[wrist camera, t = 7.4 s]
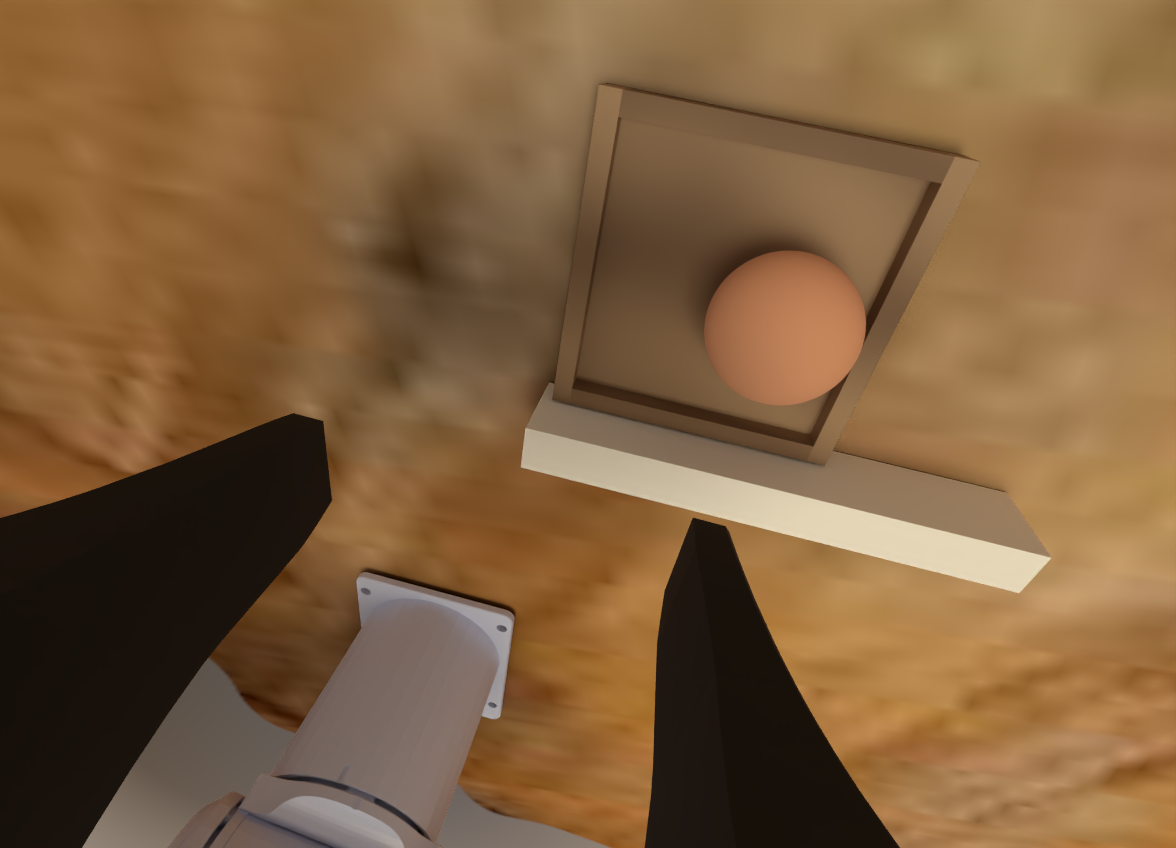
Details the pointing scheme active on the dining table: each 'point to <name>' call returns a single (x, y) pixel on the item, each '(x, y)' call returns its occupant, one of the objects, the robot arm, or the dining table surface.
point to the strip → (793, 493)
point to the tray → (734, 255)
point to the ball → (784, 328)
